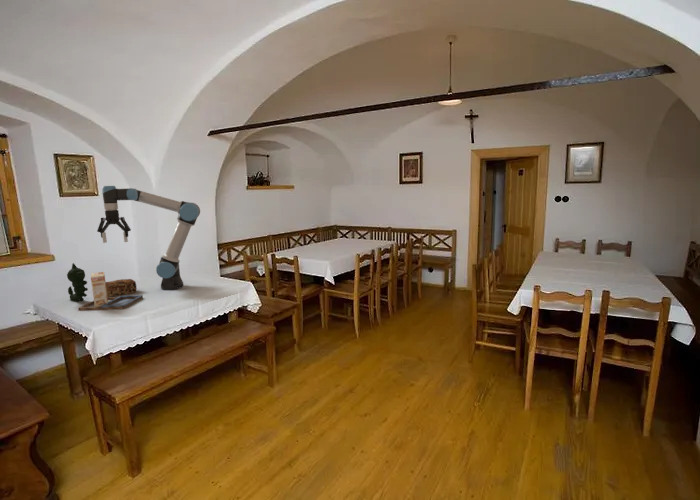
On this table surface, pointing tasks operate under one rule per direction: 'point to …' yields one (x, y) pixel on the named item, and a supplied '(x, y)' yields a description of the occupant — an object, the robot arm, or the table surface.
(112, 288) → the bread
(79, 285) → the toy figurine
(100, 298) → the coffeecake box
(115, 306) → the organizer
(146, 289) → the table surface
